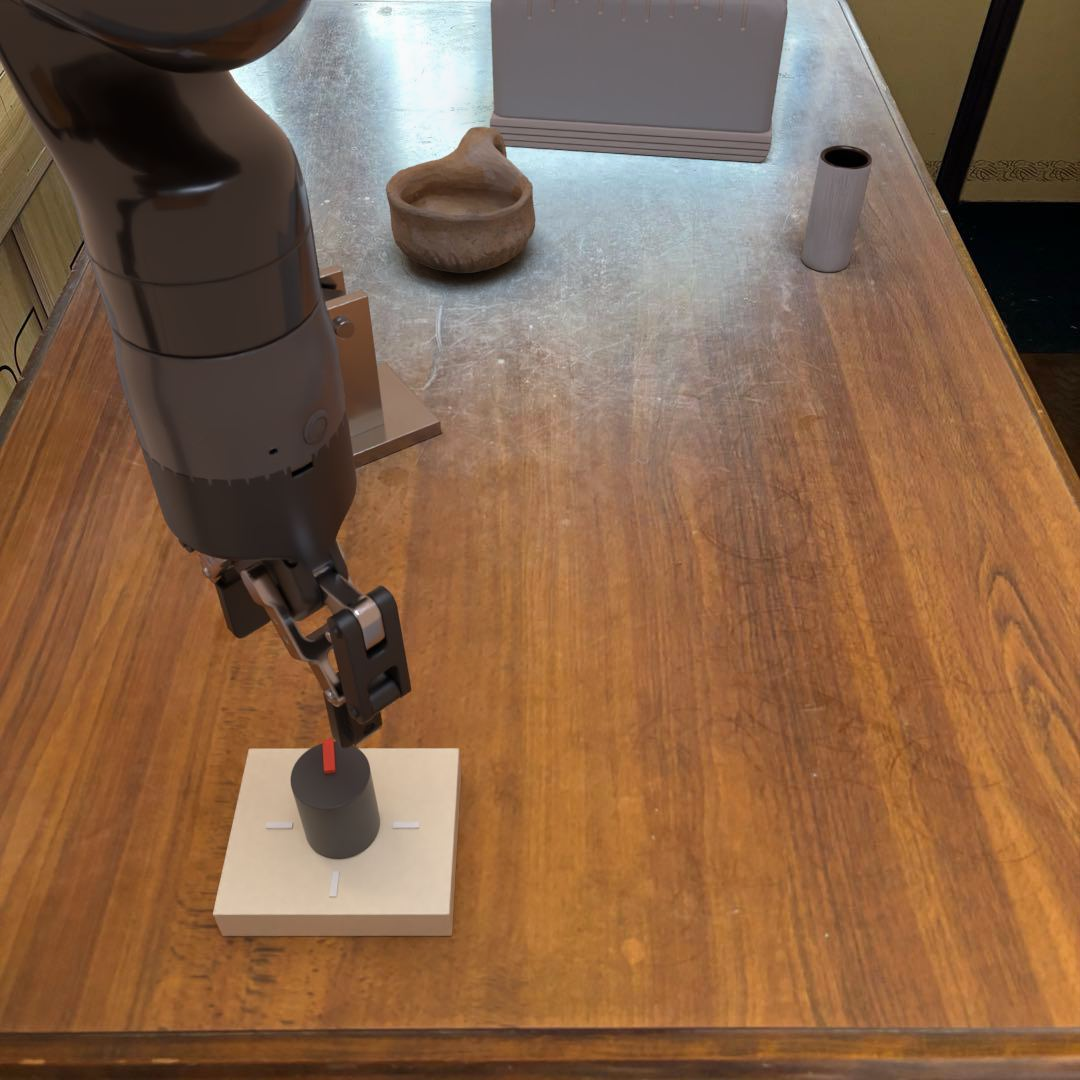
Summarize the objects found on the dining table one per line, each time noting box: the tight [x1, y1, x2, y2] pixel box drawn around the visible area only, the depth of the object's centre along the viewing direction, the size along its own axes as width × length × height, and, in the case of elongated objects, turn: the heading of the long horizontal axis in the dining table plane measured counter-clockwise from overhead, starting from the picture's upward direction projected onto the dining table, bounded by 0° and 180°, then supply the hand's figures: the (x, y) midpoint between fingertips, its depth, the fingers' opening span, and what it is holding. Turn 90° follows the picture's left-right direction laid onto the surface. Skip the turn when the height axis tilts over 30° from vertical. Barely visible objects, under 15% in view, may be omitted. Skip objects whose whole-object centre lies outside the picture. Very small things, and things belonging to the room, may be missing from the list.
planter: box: [800, 144, 873, 273], centre depth 101 cm, size 4×4×10 cm
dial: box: [290, 737, 380, 859], centre depth 57 cm, size 4×4×5 cm
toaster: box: [489, 0, 789, 163], centre depth 126 cm, size 30×36×18 cm
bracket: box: [319, 264, 442, 469], centre depth 82 cm, size 12×9×13 cm
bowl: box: [385, 126, 536, 274], centre depth 103 cm, size 18×14×10 cm
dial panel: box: [212, 747, 462, 937], centre depth 60 cm, size 12×10×3 cm
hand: (303, 677), depth 52 cm, fingers open, 8 cm apart
